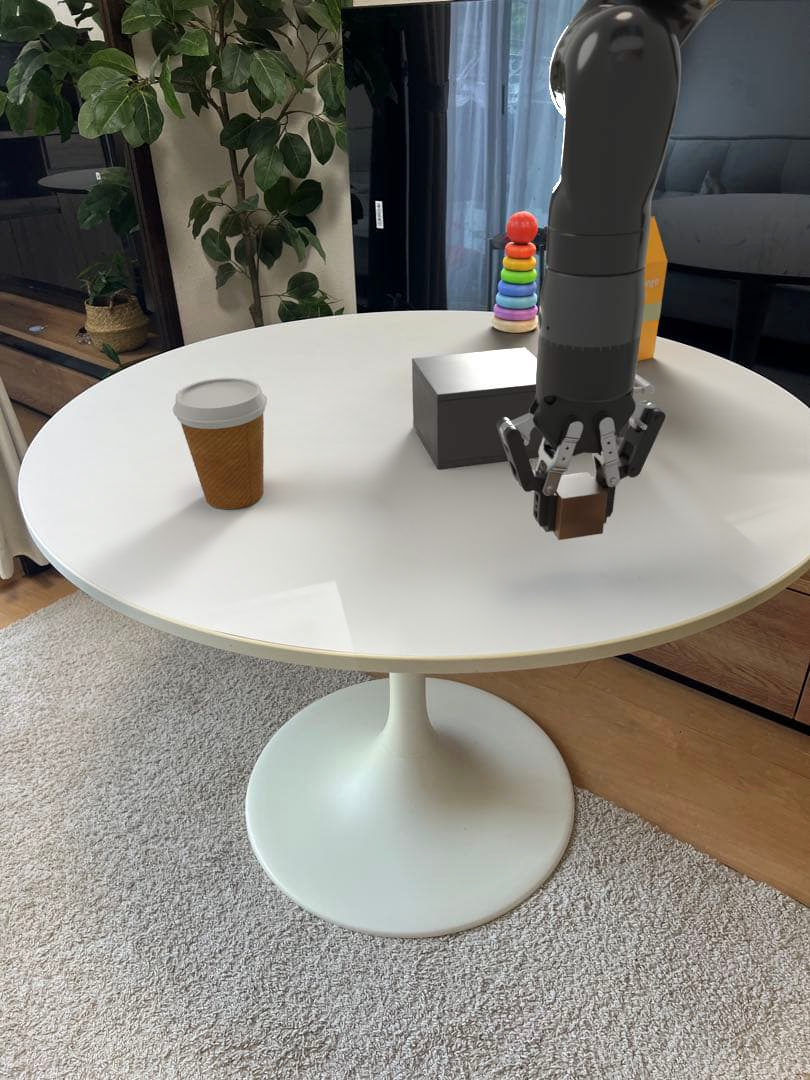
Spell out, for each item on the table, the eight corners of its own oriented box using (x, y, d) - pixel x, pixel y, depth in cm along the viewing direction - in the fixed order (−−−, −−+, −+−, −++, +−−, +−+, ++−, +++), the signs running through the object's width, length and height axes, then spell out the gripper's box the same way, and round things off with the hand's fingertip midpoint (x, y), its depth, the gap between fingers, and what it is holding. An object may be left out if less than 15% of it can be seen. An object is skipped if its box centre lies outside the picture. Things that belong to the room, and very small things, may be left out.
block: (584, 511, 70) (588, 471, 68) (603, 533, 67) (607, 492, 65) (541, 517, 69) (544, 477, 67) (558, 540, 66) (561, 499, 64)
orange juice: (654, 357, 121) (674, 219, 111) (608, 367, 118) (625, 226, 108) (620, 343, 127) (637, 211, 117) (576, 353, 124) (589, 218, 114)
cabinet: (521, 414, 104) (524, 347, 99) (556, 454, 93) (562, 381, 88) (413, 426, 101) (411, 358, 97) (437, 469, 91) (437, 394, 86)
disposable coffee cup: (186, 484, 89) (166, 383, 83) (269, 470, 92) (256, 371, 85) (195, 524, 81) (175, 416, 75) (286, 507, 84) (273, 401, 78)
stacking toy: (498, 335, 133) (502, 217, 123) (486, 322, 139) (490, 209, 130) (543, 332, 134) (551, 214, 124) (529, 319, 140) (536, 206, 131)
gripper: (514, 352, 55) (507, 558, 64) (702, 332, 57) (669, 534, 66) (483, 322, 61) (480, 514, 70) (653, 304, 63) (629, 492, 72)
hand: (572, 522), depth 68 cm, fingers closed on block, 4 cm apart
